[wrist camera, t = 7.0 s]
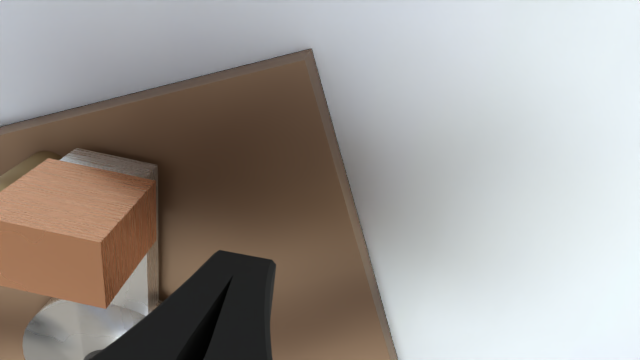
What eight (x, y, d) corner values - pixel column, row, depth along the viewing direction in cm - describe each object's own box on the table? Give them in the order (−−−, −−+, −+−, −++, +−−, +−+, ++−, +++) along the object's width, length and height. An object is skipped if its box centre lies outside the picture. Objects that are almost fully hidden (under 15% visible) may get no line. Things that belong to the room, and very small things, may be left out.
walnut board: (-143, 162, 17) (-336, 251, 12) (311, 48, 13) (269, 118, 8) (76, 441, 24) (2, 564, 19) (415, 424, 20) (423, 573, 15)
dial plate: (214, 433, 19) (180, 533, 16) (48, 395, 20) (-17, 487, 16) (236, 181, 13) (190, 262, 10) (-1, 131, 14) (-118, 194, 10)
